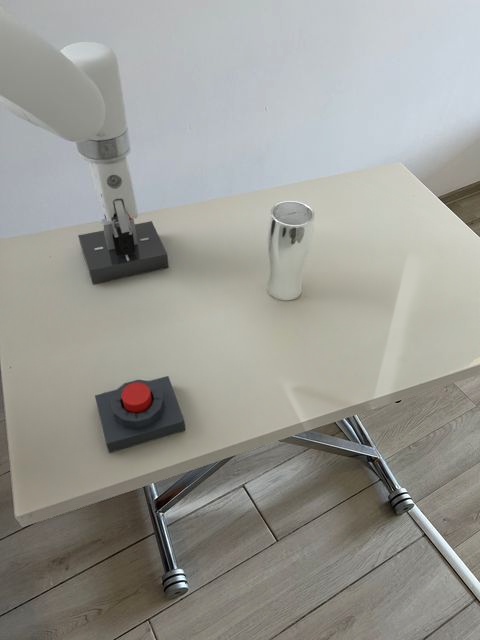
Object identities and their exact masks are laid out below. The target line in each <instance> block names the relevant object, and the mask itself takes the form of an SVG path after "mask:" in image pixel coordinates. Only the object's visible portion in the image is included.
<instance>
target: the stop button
mask: <svg viewBox="0 0 480 640" xmlns="http://www.w3.org/2000/svg"><path fill="white" fill-rule="evenodd" d="M121 397H122V401H123V405H124V407H125V409H126V410H128V411H129V412H132V413H140V412H143V411H145V410H146V409H148V408H149V406H150V405H151V402H152V398H151V393H150V389H149V387H148V386H147V385H145V384H143V383H132V384H129V385H128V386H126V387H125V388H124V389H123V391H122V394H121Z"/></svg>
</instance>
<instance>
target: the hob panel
mask: <svg viewBox="0 0 480 640" xmlns="http://www.w3.org/2000/svg"><path fill="white" fill-rule="evenodd" d="M134 224H135V230H136V237H137V243H138V244H136V245H135V252H134V253H129V254H124V255H119V256H118V255H116V252H115V249H111V250H108V247H107V245H106V241H105V236H104V231H103V230H98V231H92V232H88V233H83V234H78V241H79V245H80V249H81V252H82V255H83V258H84V261H85V264H86V268H87V271H88V274H89V277H90V280H91V281H90V282H91V284H92V285H96V284H100V283H105V282H106V283H107V282H109V281H110V282H111V281H115V280H119V279H123V278H127V277H133V276H137V275H141V274H146V273H150V272H154V271H155V272H156V271H160V270H164V269H168V268H169V267H170V266H169V259H168V253H167V251H166V249H165V246H164V244H163V243H162V240H161V238H160V236H159V234H158V232H157V231H158V230H157V229H156V227H155V225H154V223H153V221H152V220H150V221H146V222H139V223H134Z"/></svg>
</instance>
